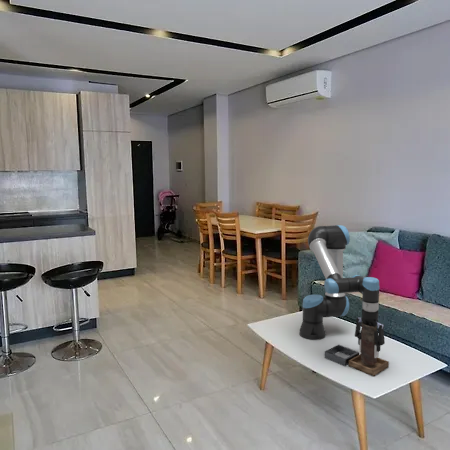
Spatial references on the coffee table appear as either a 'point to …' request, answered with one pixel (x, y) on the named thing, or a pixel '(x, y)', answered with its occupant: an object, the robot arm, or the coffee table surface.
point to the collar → (342, 361)
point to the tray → (369, 366)
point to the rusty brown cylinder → (368, 344)
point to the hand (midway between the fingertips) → (368, 354)
